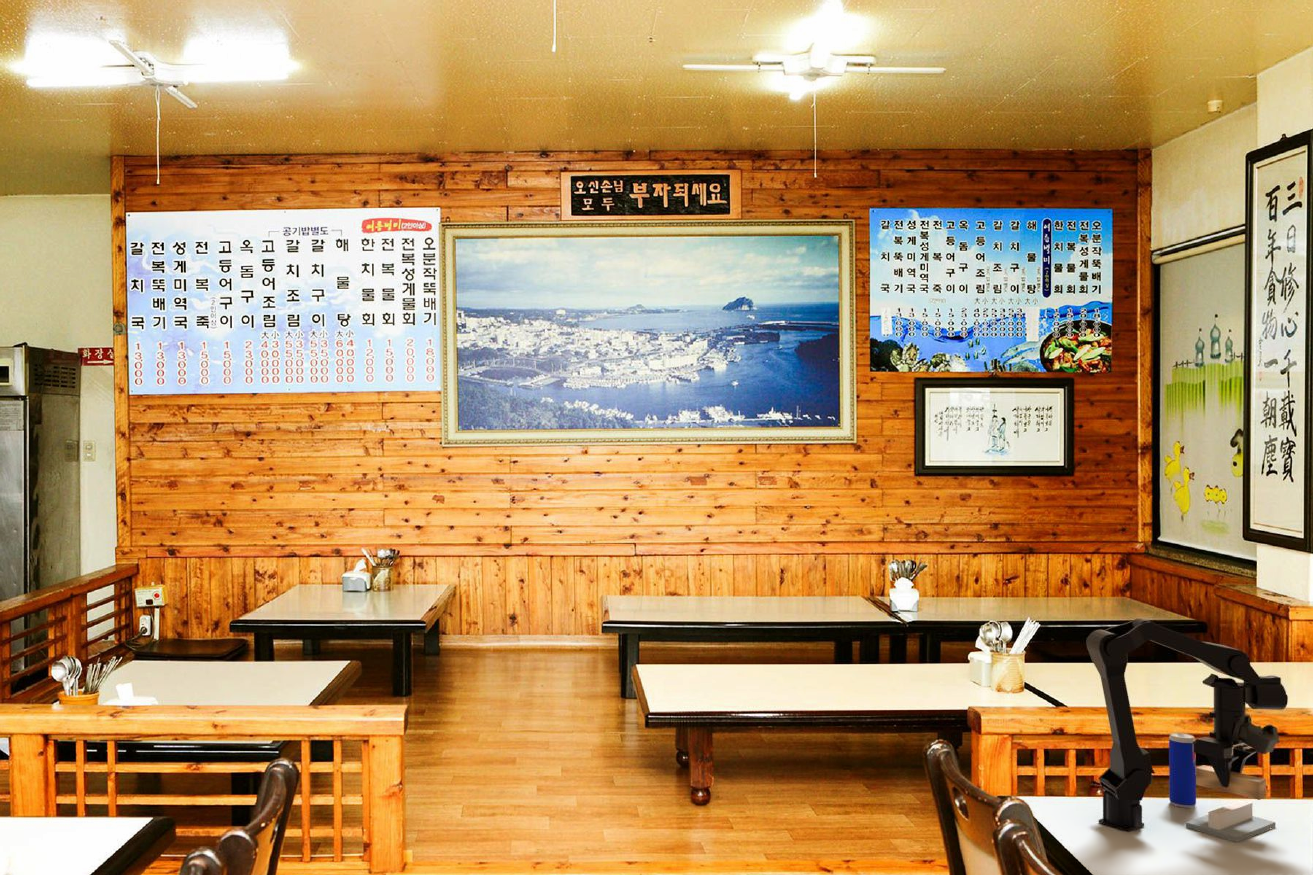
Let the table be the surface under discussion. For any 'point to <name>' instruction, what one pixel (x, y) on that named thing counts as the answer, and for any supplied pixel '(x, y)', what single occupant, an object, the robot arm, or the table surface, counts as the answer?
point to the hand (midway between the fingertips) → (1229, 785)
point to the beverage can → (1182, 770)
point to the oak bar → (1232, 783)
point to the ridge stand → (1231, 822)
